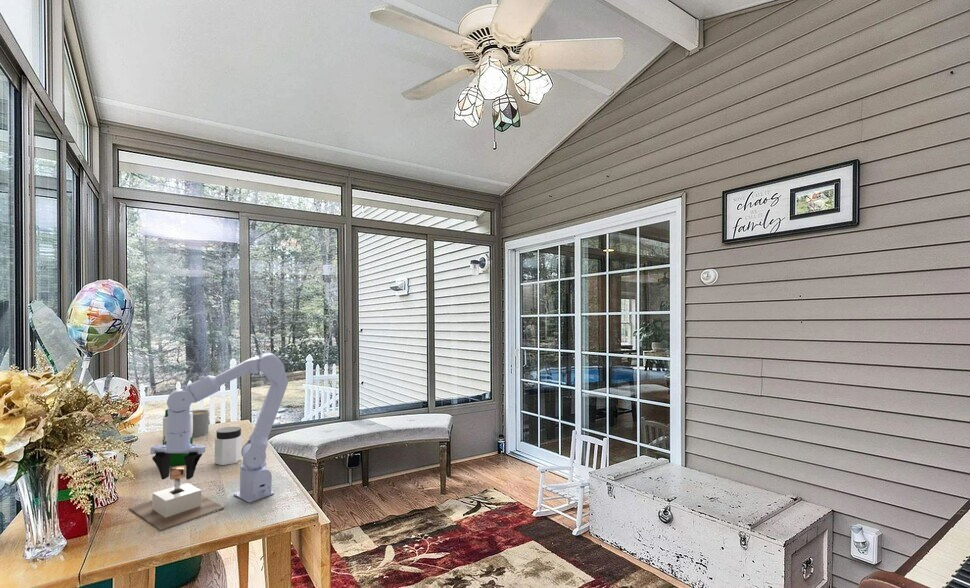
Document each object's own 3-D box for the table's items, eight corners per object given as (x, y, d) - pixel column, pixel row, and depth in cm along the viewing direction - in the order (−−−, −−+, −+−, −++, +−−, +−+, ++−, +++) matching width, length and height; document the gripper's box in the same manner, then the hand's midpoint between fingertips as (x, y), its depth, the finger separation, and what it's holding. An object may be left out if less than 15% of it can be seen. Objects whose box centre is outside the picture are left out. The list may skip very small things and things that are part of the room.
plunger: (186, 493, 131) (187, 467, 131) (172, 497, 128) (173, 471, 128) (181, 490, 133) (181, 465, 133) (167, 494, 130) (168, 468, 130)
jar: (214, 467, 163) (215, 433, 163) (213, 460, 170) (214, 428, 170) (242, 462, 168) (243, 430, 168) (240, 456, 175) (241, 425, 175)
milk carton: (166, 460, 169) (167, 407, 169) (194, 457, 172) (195, 405, 173) (159, 468, 161) (160, 412, 161) (188, 465, 164) (190, 410, 165)
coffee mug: (210, 430, 209) (210, 408, 209) (206, 436, 200) (206, 413, 200) (176, 433, 204) (176, 411, 204) (170, 439, 195) (171, 416, 195)
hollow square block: (200, 505, 131) (201, 489, 131) (165, 517, 124) (165, 500, 124) (186, 497, 136) (187, 482, 137) (152, 508, 129) (152, 492, 129)
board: (224, 508, 131) (224, 507, 131) (160, 531, 117) (160, 529, 117) (190, 490, 143) (190, 488, 143) (128, 508, 130) (128, 507, 130)
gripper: (211, 427, 135) (210, 472, 135) (162, 427, 134) (161, 472, 134) (197, 434, 128) (196, 482, 128) (145, 434, 127) (144, 482, 127)
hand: (177, 478), depth 130 cm, fingers open, 6 cm apart
